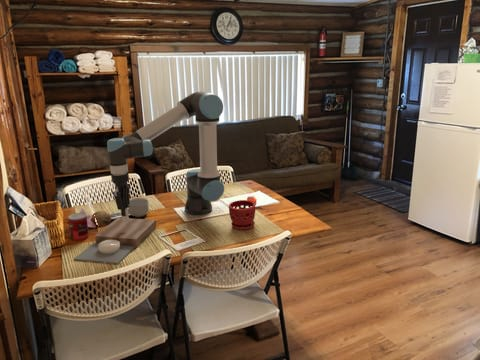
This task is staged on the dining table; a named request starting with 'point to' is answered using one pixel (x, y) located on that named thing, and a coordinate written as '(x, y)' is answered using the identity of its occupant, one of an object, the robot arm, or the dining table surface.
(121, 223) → the serving board
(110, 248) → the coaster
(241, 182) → the dining table surface
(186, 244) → the photo frame
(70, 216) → the canned food
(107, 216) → the coconut
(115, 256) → the mat
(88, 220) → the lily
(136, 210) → the teacup
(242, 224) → the plant pot
